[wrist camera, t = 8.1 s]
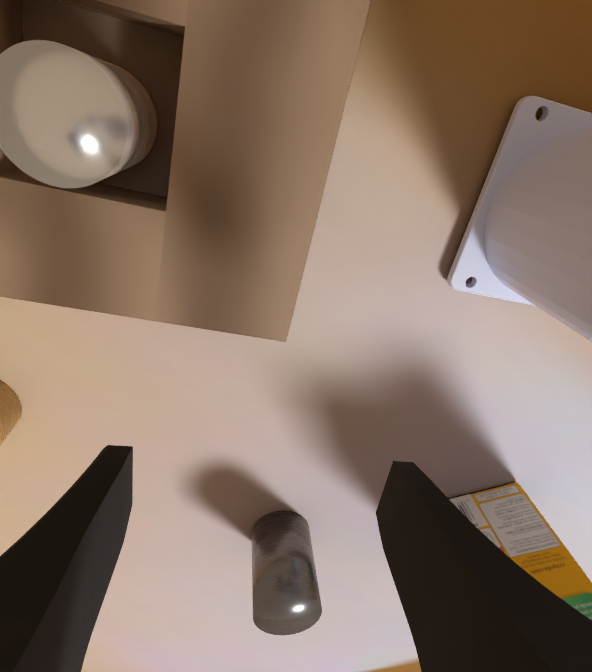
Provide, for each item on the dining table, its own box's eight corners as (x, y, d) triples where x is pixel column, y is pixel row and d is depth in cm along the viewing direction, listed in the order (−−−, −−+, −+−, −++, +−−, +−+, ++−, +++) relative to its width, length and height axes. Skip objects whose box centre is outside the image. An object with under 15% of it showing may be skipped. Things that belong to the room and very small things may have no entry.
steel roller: (166, 84, 16) (136, 72, 11) (147, 181, 17) (114, 204, 13) (62, 45, 15) (-14, 15, 10) (51, 150, 16) (-20, 163, 12)
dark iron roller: (314, 513, 26) (329, 594, 22) (301, 552, 28) (312, 635, 23) (257, 508, 26) (260, 591, 21) (246, 549, 27) (247, 634, 23)
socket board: (371, -65, 14) (395, -97, 12) (281, 317, 20) (286, 341, 18) (-206, -272, 11) (-316, -366, 9) (-117, 249, 17) (-171, 269, 15)
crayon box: (406, 539, 28) (500, 783, 18) (401, 508, 27) (500, 751, 17) (516, 513, 28) (673, 741, 18) (517, 480, 27) (687, 706, 17)
